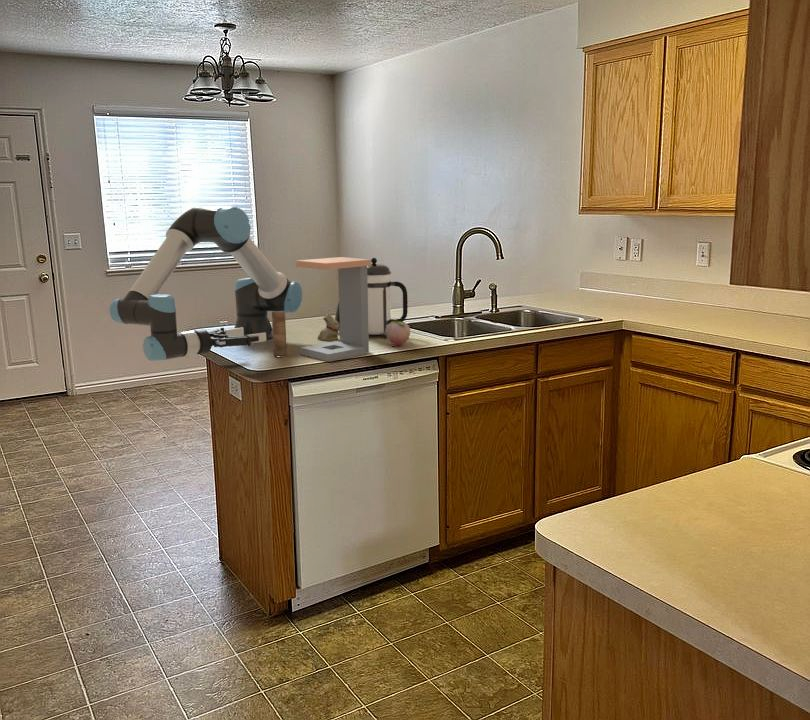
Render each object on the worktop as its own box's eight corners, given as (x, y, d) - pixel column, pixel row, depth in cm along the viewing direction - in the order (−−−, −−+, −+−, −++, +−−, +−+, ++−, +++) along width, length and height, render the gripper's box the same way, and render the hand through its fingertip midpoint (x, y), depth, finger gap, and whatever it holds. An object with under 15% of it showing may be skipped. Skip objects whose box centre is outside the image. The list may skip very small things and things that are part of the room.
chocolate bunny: (332, 341, 277) (332, 315, 275) (316, 339, 281) (315, 313, 279) (341, 339, 282) (340, 312, 279) (325, 337, 286) (324, 311, 283)
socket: (300, 354, 255) (296, 260, 248) (343, 346, 267) (341, 257, 260) (328, 361, 243) (325, 263, 236) (372, 353, 256) (370, 259, 249)
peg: (271, 355, 253) (269, 312, 250) (282, 353, 256) (280, 310, 253) (278, 357, 250) (276, 313, 246) (289, 355, 253) (287, 312, 249)
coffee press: (371, 341, 276) (369, 260, 270) (348, 335, 289) (346, 257, 283) (408, 336, 286) (408, 257, 280) (385, 330, 299) (384, 255, 292)
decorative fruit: (415, 346, 267) (415, 318, 265) (398, 349, 262) (398, 321, 260) (398, 342, 274) (398, 315, 272) (381, 345, 269) (381, 318, 267)
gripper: (176, 348, 240) (234, 340, 254) (215, 360, 222) (275, 350, 236) (175, 325, 238) (233, 318, 252) (214, 335, 220) (274, 327, 235)
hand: (254, 334), depth 244 cm, fingers open, 13 cm apart
